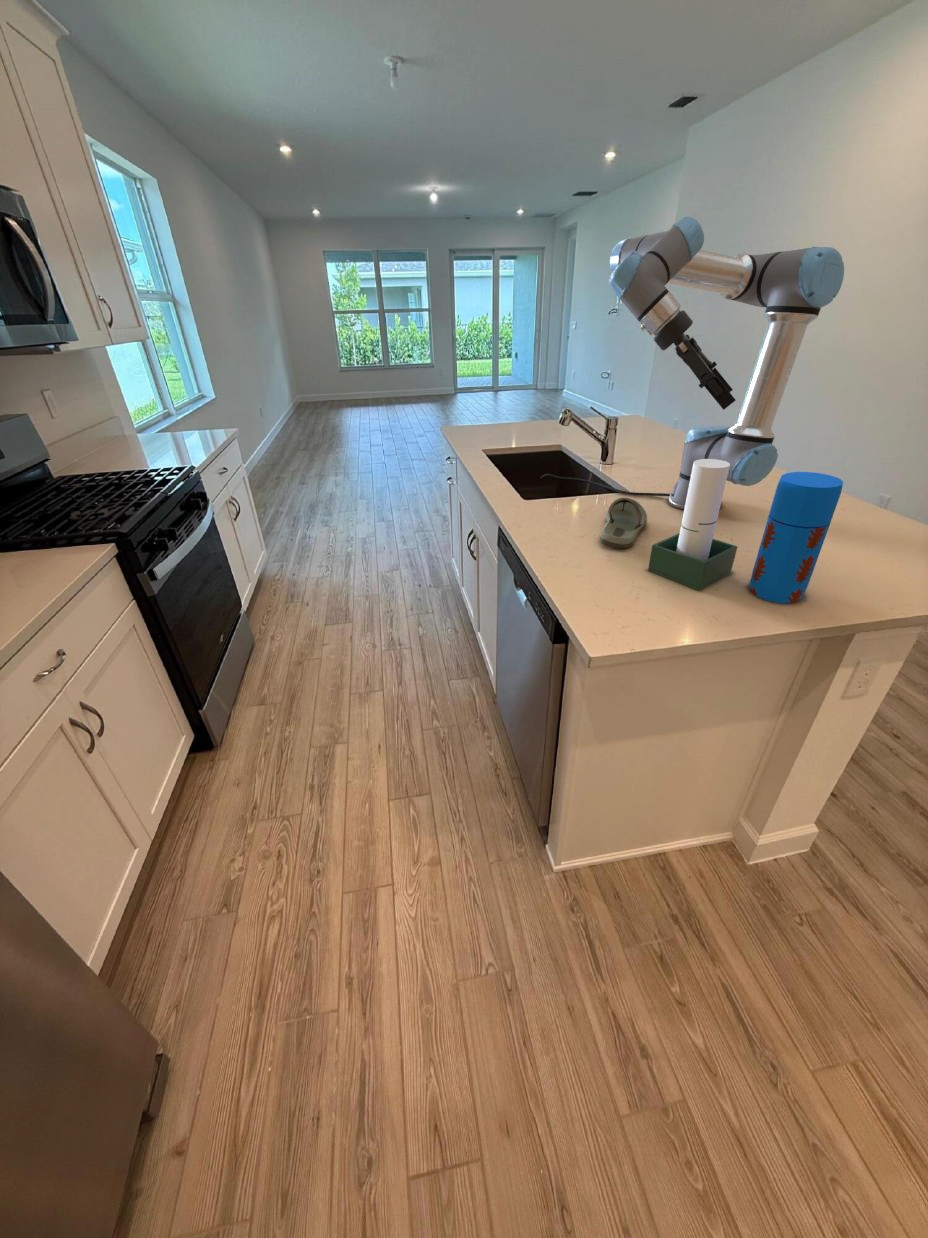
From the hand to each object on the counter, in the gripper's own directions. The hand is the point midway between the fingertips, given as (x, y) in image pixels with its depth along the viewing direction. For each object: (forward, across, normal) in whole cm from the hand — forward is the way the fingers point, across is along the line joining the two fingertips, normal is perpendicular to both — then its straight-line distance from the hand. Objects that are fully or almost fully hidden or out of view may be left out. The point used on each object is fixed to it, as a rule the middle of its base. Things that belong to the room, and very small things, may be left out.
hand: (728, 399), depth 111 cm
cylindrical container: (+24, +12, -27) cm, 38 cm away
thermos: (+38, +17, -14) cm, 44 cm away
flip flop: (+12, -9, -40) cm, 43 cm away
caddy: (+25, +12, -27) cm, 39 cm away
